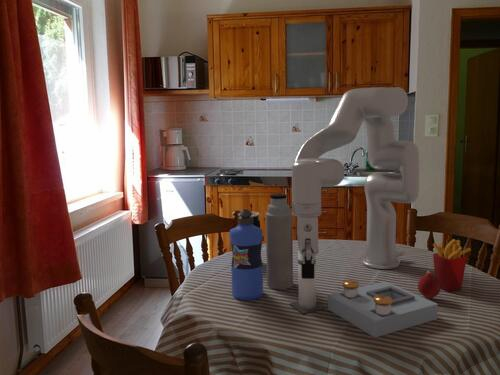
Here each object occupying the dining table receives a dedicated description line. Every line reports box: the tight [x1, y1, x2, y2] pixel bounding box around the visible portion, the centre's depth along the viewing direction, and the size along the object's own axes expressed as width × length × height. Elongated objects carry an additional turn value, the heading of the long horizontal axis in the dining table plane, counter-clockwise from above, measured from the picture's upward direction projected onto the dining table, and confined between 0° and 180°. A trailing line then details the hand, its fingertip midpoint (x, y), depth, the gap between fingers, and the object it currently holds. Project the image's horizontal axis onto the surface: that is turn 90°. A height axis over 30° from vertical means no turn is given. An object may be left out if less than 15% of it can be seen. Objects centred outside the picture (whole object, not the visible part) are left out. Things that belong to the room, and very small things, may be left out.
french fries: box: [432, 238, 472, 293], centre depth 130 cm, size 9×8×15 cm
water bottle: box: [229, 208, 264, 301], centre depth 129 cm, size 9×9×25 cm
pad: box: [288, 300, 326, 315], centre depth 121 cm, size 7×7×1 cm
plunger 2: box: [374, 295, 392, 317], centre depth 107 cm, size 4×4×7 cm
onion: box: [417, 270, 442, 300], centre depth 123 cm, size 6×6×8 cm
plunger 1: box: [341, 279, 360, 300], centre depth 118 cm, size 4×4×7 cm
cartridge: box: [297, 250, 317, 309], centre depth 120 cm, size 5×5×15 cm
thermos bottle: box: [265, 193, 294, 290], centre depth 136 cm, size 8×8×28 cm
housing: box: [327, 281, 439, 339], centre depth 115 cm, size 20×18×5 cm
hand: (306, 271), depth 119 cm, fingers open, 9 cm apart
